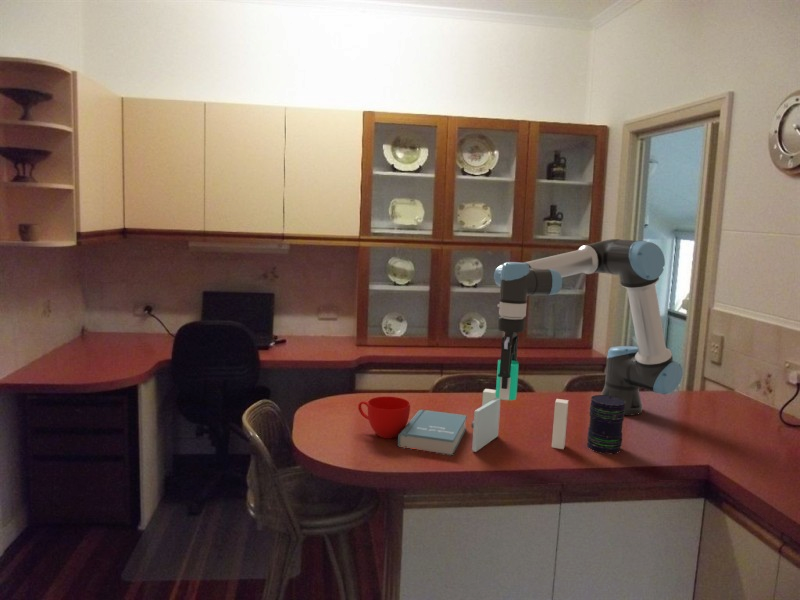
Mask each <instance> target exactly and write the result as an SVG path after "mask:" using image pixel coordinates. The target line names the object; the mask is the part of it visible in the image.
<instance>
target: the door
mask: <svg viewBox="0 0 800 600" xmlns="http://www.w3.org/2000/svg"><path fill="white" fill-rule="evenodd" d="M501 400H502V399H498V398H495V399H494V400H492V401H490V402H489V403H487V404H485V405H483V406H482V405H481V406H480V407H478V408H477V409H475V410H474V414H473V416H474V417H473V421H472V422H471V425H470V426H471V428H472V430H473V431H472V445H471V446H472V447H471V452H475V453H476V452H478V451H479V450H481V449H482V448H483V447H484V446H486V445H488V444H489V443H490V442H491V441H493V440H495V439H496V438H498V436H499V430H500V429H499V427H500V414H501Z"/></svg>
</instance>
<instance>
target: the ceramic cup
mask: <svg viewBox="0 0 800 600" xmlns="http://www.w3.org/2000/svg"><path fill="white" fill-rule="evenodd" d="M358 403H359V404H358V407H357V408H358V411H359V414H360V415H361V416H362V417H363V418H365V419H366V420H368V422H369V425H370V428H372V431H374V433H375V434H376V436H378V437H379V436H380V437H379V438H382V437H384V438H383V439H393V438H392V437H395V438H398V435H399V434H400V433H401V431H402V430H403V429H404V428H405V427H406V425H407V424H408V423H409V419H410V413H411V403H410V401H409V400H407V399H404V398H401V397H396V396H378V397H377V396H376V397H373V398H370V399H369V400H366V401H365V400H363V401H360V402H358ZM362 405H366V407H367V414H366V413H365V412H364V410H363V409H362Z"/></svg>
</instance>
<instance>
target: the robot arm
mask: <svg viewBox="0 0 800 600" xmlns="http://www.w3.org/2000/svg"><path fill="white" fill-rule="evenodd" d="M665 264H666V261H665V255H664V252H663V251H662V248H661V247H660V246H659V245H658V244H656V243H655V242H650V241H646V240H631V239H629V240H628V239H619V238H617V239H615V238H614V239H613V238H612V239H605V240H601V241H597V242H593V243H589V244H585V245H581V246H580V247H579V248H578V249H577V250H573V251H569V252H563V253H560V254H559V253H558V254H556V255H551V256H547V257H542V258H537V259H533V260H530V261H524V262H521V261H520V262H517V261H507V262H504V263H502V264H500V265H499V266H497V267H496V268H495V270H494V274H493V279H494V283H495V284H496V285H497V287H500V288H499V303H497V305H496V306H497V308H498V315H499V317H497V329H498V330H499V331H501V332H504V336H503V337H502V339H501V340H502V341H501V344H500V345H501V349H500V350H501V351H500V352H501V354H500V360H501V362H500V373H499V374H498V377H501V379H500V393H499V399H501V400H502V399H504V400H503V401H510V400H509V394H510V380H511V377H510V370H511V362H512V360H513V361H517V362H518V360H517V359H518V344H519V338H520V337H519V334H520V333H524V332H525V326H526V319H525V318H526V316H527V304H528V301H527V300H528V297H529V296H530V297H531V296H546V297H549V296H552V295H557V294H558V293H559V292H560V291H561V289H562V287H563V278H566V277H569V276H574V275H579V274H582V273H583V274H586V275H591V274H598V273H599V274H608V275H609V274H610V275H614V276H619V283H620V286H621V287H622V288H624V289H626V291H627V297H628V301H629V307H630V313H631V318H632V323H633V324H632V325H633V329H634V334H635V339H636V343H637V346H635V345H634V346H631V345H630V346H629V345H621V346H620V345H619V346H612V347H610V348H608V351H607V357H606V367H605V381H604V386H603V389H602V390H601V393H600V395H608V396H614V397H618V398H621V399H623V400H624V401H625V415H624V416H632V415H631V414H638V413H641V412H642V413H643V403H642V399H641V395H640V388H641V389H644V390H647V391H651V392H653V393H654V394H661V395H664V396H666V395H670V394H672V393H673V392H675V391H676V389H677V388H678V387H679V385H680V384H681V382H682V379H683V374H684V370H683V367H682V364H681V363H679V362H678V361H676V360H675V361H674V358H673V354H672V351H671V349H670V348H667V346H666V340H665V335H664V330H663V324H662V316H661V311H660V307H659V299H658V293H657V290H656V289H657V288H656V284H657V283H658V281H659V280H660V277H661V275H662V274H663V272H664V268H665ZM518 333H519V334H518ZM642 413H641V414H642ZM638 415H639V414H638Z"/></svg>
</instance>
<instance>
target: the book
mask: <svg viewBox="0 0 800 600" xmlns="http://www.w3.org/2000/svg"><path fill="white" fill-rule="evenodd" d="M467 418H468V415H466V414H465V415H464V414H459V413H458V414H457V413H452V412H451V413H450V412H443V411H435V410H427V409H426V410H424V409H419V410H418V411H417V412H416V413H415V415H414V416H413V417H412V418H411V419H410V420H409V421H408V422H407V424H406V426H405V428H404V429H403V430H402V431H401V433H400V434H399V435H398V436H397V447H398V446H399V447H401V446H402V447H405V448H407V447H409V448H416V449H422V450H427V451H431V452H432V451H433V452H436V453H435V454H438V453H442V454H441V455H445V454H447V455H446V456H451V455H453V456H454V454H455V452H456V450H457V448H458V446H459V444H460V442H461V440H462V438H463V436H464V434H465V432H466V430H467V428H466V420H467ZM399 447H398V448H399ZM405 448H404V449H405ZM431 452H430V453H431ZM453 453H454V454H453Z"/></svg>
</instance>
